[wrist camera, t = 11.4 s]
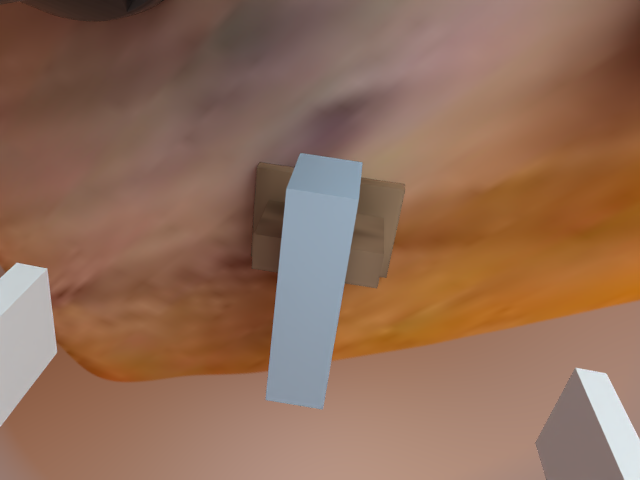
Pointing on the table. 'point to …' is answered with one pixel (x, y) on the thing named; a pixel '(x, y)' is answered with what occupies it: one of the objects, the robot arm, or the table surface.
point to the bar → (311, 277)
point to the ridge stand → (368, 236)
